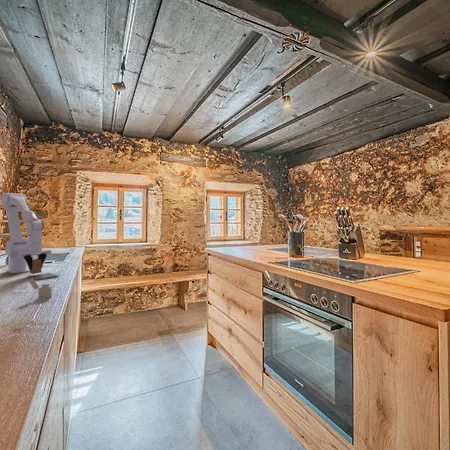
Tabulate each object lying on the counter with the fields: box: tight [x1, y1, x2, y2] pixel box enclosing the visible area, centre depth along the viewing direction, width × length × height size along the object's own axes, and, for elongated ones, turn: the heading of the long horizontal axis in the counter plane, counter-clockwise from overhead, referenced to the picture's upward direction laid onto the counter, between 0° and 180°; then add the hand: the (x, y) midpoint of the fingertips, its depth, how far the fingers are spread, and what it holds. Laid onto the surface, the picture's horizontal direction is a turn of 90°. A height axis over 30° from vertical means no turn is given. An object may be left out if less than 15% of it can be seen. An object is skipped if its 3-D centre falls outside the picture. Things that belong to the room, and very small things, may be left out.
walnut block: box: [29, 258, 43, 275], centre depth 138 cm, size 4×4×7 cm
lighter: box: [28, 278, 53, 300], centre depth 101 cm, size 7×2×8 cm, turn 121°
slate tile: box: [26, 272, 59, 282], centre depth 134 cm, size 10×10×1 cm
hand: (35, 268), depth 138 cm, fingers closed on walnut block, 4 cm apart
